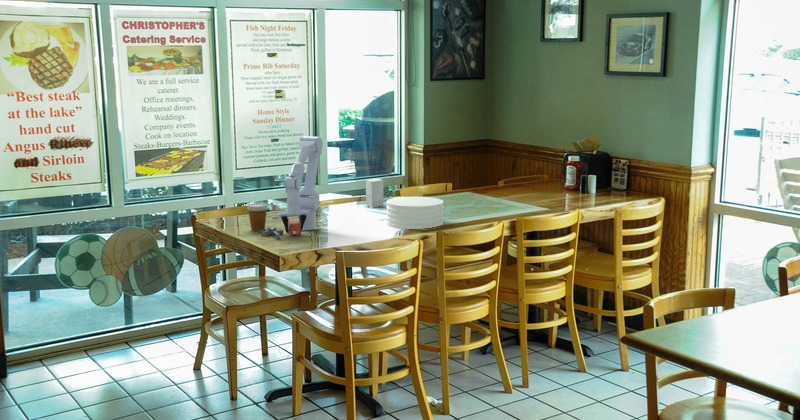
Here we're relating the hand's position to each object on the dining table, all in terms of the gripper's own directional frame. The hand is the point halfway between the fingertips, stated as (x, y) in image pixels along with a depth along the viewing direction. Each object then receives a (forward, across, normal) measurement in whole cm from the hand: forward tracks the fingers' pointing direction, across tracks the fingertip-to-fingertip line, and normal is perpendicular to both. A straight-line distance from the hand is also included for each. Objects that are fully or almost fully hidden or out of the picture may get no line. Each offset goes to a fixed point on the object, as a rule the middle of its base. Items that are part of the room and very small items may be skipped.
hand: (294, 231), depth 387 cm
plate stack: (+2, +62, +4) cm, 62 cm away
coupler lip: (+1, -9, +1) cm, 9 cm away
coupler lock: (+2, 0, 0) cm, 2 cm away
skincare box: (+2, +60, +55) cm, 81 cm away
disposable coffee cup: (+2, -13, +17) cm, 21 cm away
